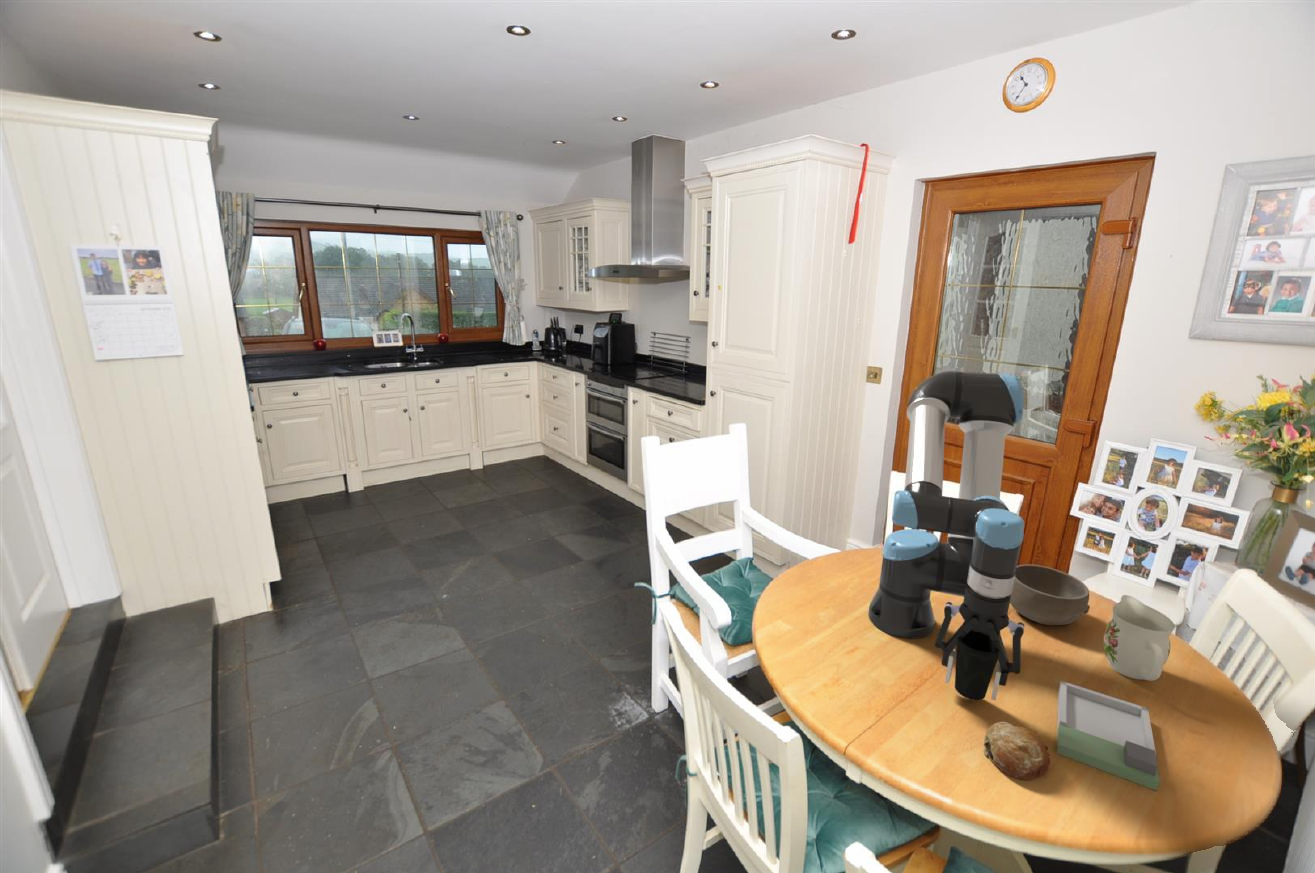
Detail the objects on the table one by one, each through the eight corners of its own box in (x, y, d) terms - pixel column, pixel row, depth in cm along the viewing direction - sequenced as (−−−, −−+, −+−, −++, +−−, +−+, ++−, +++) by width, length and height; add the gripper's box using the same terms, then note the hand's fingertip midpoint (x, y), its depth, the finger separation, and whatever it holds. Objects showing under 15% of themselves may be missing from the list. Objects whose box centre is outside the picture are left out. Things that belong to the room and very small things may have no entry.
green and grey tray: (1056, 753, 105) (1061, 734, 104) (1058, 690, 120) (1062, 674, 119) (1156, 790, 97) (1162, 771, 96) (1144, 719, 113) (1149, 702, 112)
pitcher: (1119, 694, 119) (1134, 637, 115) (1085, 642, 136) (1098, 591, 132) (1183, 706, 116) (1201, 647, 112) (1141, 651, 133) (1156, 599, 129)
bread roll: (977, 753, 109) (966, 723, 107) (1028, 731, 109) (1017, 700, 107) (1013, 799, 100) (1001, 767, 98) (1068, 775, 99) (1057, 742, 97)
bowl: (1095, 619, 145) (1103, 583, 142) (1063, 644, 135) (1071, 606, 133) (1021, 589, 159) (1028, 556, 156) (988, 609, 149) (994, 575, 146)
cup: (997, 706, 113) (1007, 655, 109) (954, 701, 114) (963, 650, 111) (984, 679, 120) (993, 630, 117) (944, 674, 122) (952, 626, 118)
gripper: (926, 581, 113) (912, 678, 120) (1052, 616, 102) (1028, 720, 109) (933, 565, 119) (920, 658, 126) (1053, 596, 108) (1031, 696, 115)
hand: (970, 687), depth 117 cm, fingers closed on cup, 8 cm apart
